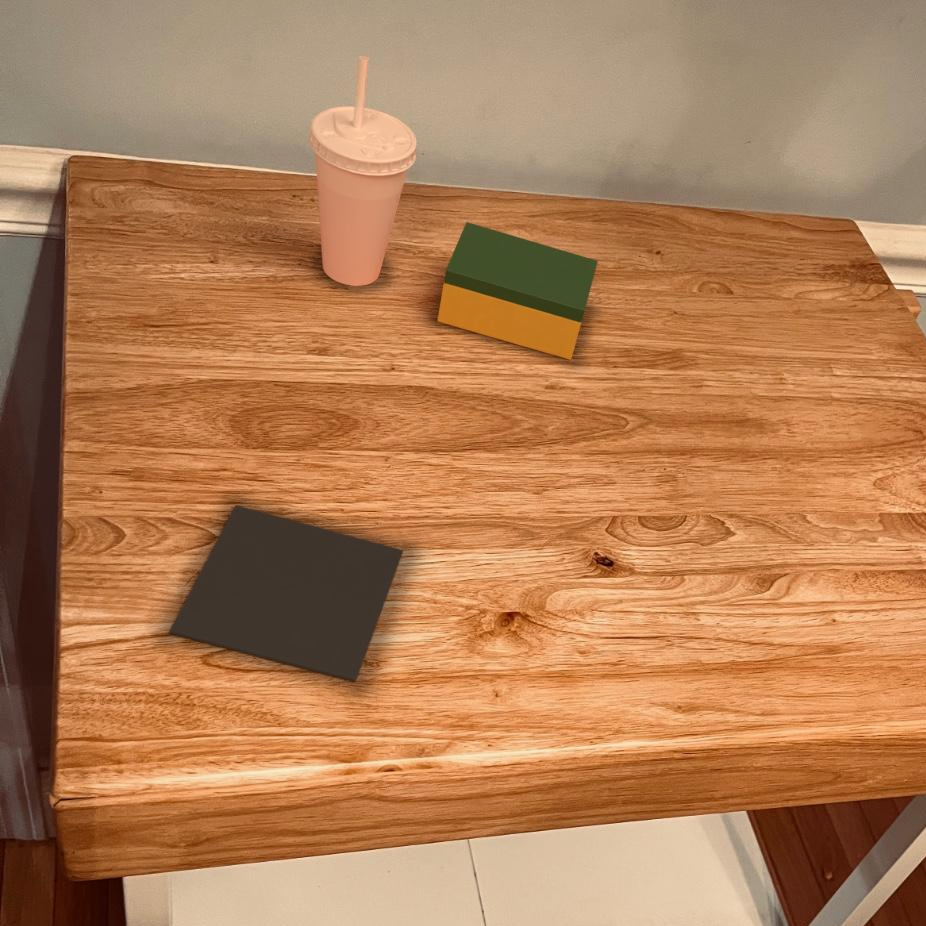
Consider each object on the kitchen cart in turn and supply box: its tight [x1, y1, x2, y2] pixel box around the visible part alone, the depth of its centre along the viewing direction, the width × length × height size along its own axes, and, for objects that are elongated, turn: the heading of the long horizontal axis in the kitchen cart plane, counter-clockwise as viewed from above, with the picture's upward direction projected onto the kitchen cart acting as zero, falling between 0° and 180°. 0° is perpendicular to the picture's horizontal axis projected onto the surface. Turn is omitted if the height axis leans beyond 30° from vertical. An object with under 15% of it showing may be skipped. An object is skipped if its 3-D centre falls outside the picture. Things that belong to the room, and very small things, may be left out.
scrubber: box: [437, 221, 598, 361], centre depth 78 cm, size 9×6×4 cm, turn 83°
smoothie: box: [308, 55, 418, 287], centre depth 73 cm, size 6×6×14 cm
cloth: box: [169, 504, 404, 683], centre depth 60 cm, size 9×9×1 cm
